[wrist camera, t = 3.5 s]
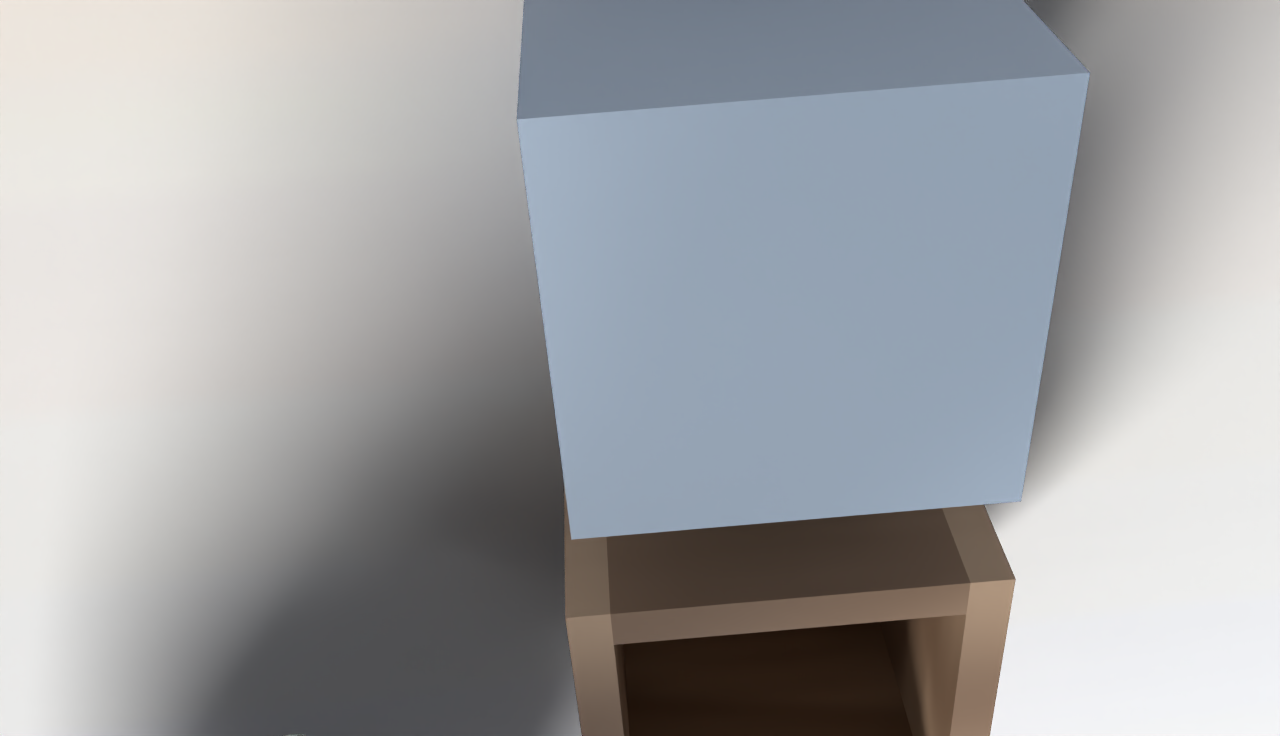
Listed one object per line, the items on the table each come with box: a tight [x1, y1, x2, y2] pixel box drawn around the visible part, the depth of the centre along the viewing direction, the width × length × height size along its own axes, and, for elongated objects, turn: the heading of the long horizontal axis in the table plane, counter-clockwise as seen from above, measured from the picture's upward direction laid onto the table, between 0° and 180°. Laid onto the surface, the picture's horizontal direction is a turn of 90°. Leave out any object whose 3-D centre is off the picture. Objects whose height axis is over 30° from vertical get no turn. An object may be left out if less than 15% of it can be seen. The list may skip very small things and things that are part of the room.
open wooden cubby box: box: [564, 486, 1015, 736], centre depth 20 cm, size 6×6×5 cm
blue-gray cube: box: [517, 0, 1090, 540], centre depth 15 cm, size 6×6×6 cm
